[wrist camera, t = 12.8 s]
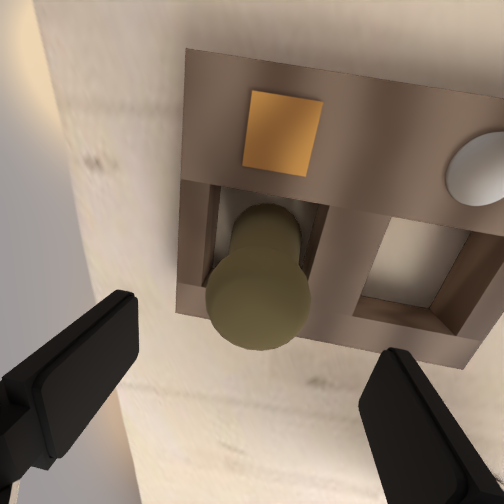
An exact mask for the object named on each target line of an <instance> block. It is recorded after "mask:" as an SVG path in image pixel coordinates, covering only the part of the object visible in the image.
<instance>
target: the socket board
mask: <svg viewBox="0 0 504 504" xmlns="http://www.w3.org/2000/svg"><path fill="white" fill-rule="evenodd" d="M221 186H223V187H229V188H235V189H240V190H246V191H251V192H257V193H263V194H268V195H274V196H279V197H285V198H291V199H296V200H302V201H308V202H313V203H319V206H318V210H317V214H316V217H315V221H314V225H313V228H312V232H311V236H310V240H309V243H308V247H307V251H306V254H305V258H304V262H303V266H302V271H303V272H304V274H305V275H306V277H307V281H308V285H309V289H310V293H311V305H310V312H309V317H308V319H307V321H306V323H305V325H304V326H303V328H302V330H301V331H300V332H299V333H298V334H297V335H296V336H295V337H300V338H305V339H311V340H316V341H321V342H326V343H331V344H336V345H341V346H346V347H351V348H356V349H361V350H366V351H371V352H376V353H382V351H383V350H387V349H388V348H389V347H394V348H399V349H403V350H407V351H409V352H410V353H411V355H412V356H413V358H414V359H415V360H416V361H421V362H426V363H432V364H437V365H442V366H447V367H452V368H457V369H462V370H463V369H464V368H465V366H466V365H467V363H468V362H469V360H470V359H471V358H472V356H473V355H474V353H475V352H476V350H477V349H478V348H479V346H480V345H481V343H482V342H483V340H484V339H485V338H486V336H487V335H488V333H489V332H490V331H491V329H492V328H493V326H494V325H495V323H496V322H497V321H498V319H499V318H500V316H501V315H502V313H503V312H504V99H503V98H496V97H490V96H484V95H478V94H471V93H465V92H459V91H452V90H446V89H440V88H433V87H427V86H421V85H415V84H408V83H402V82H396V81H389V80H383V79H377V78H370V77H364V76H358V75H351V74H345V73H339V72H333V71H326V70H320V69H314V68H307V67H301V66H295V65H288V64H282V63H276V62H270V61H263V60H257V59H251V58H244V57H238V56H232V55H225V54H219V53H213V52H207V51H200V50H194V49H188V48H186V55H185V81H184V107H183V132H182V158H181V184H180V210H179V235H178V261H177V287H176V312H175V313H179V314H184V315H190V316H195V317H200V318H205V319H210V318H209V315H208V313H207V311H206V302H205V292H206V287H207V284H208V281H209V277H210V275H211V273H212V272H213V270H214V269H215V268H212V267H213V258H214V248H215V239H216V229H217V219H218V210H219V200H220V191H221ZM391 217H397V218H403V219H408V220H414V221H420V222H425V223H431V224H437V225H442V226H448V227H453V228H459V229H465V230H470V231H472V232H471V234H470V235H469V237H468V239H467V241H466V243H465V245H464V246H463V248H462V250H461V252H460V254H459V256H458V257H457V259H456V261H455V263H454V265H453V266H452V268H451V270H450V272H449V274H448V276H447V277H446V279H445V281H444V283H443V285H442V287H441V288H440V290H439V292H438V294H437V296H436V298H435V299H434V301H433V303H432V305H431V307H430V308H429V309H426V308H421V307H416V306H411V305H405V304H400V303H395V302H390V301H384V300H379V299H374V298H369V297H363V296H360V295H361V292H362V290H363V287H364V285H365V282H366V280H367V277H368V274H369V272H370V269H371V267H372V264H373V262H374V259H375V257H376V254H377V252H378V249H379V247H380V244H381V242H382V239H383V237H384V234H385V232H386V229H387V227H388V224H389V222H390V219H391Z"/></svg>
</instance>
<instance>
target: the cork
mask: <svg viewBox="0 0 504 504" xmlns="http://www.w3.org/2000/svg"><path fill="white" fill-rule="evenodd" d="M301 238H302V233H301V229H300V225H299V223H298V221H297V220H296V218H295V217H294V215H293V214H292V213H290V212H289V211H288V210H287V209H285V208H284V207H281V206H278V205H276V204H268V203H261V204H258V205H254V206H251V207H249V208H248V209H246V210H245V211H243V212H242V213H241V214H240V216H239V217H238V218H237V220H236V221H235V224H234V227H233V230H232V234H231V240H230V246H229V252H228V256H226V257H225V258H223V259H222V260H221V261H220V263H219V264H218V265H217V266H216V268H215V269H214V270H213V272H212V273H211V275H210V277H209V281H208V284H207V287H206V292H205V302H206V311H207V313H208V315H209V318H210V320H211V322H212V324H213V326H214V328H215V329H216V330H217V331H218V332H219V334H220V335H221V336H222V337H223V338H225V339H226V340H228V341H229V342H231V343H232V344H234V345H236V346H239V347H242V348H245V349H249V350H260V351H262V350H269V349H275V348H277V347H280V346H282V345H284V344H286V343H288V342H289V341H290V340H291V339H293V338H294V337H295V336H296V335H297V334H298V333H299V332H300V331H301V330H302V328H303V326H304V325H305V323H306V321H307V319H308V317H309V312H310V305H311V293H310V289H309V285H308V281H307V277H306V275H305V274H304V272H303V271H302V269H301V268H300V266H299V265H298V264H299V256H300V247H301Z"/></svg>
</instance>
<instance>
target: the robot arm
mask: <svg viewBox="0 0 504 504" xmlns="http://www.w3.org/2000/svg"><path fill="white" fill-rule="evenodd" d="M138 353H139V327H138V299H137V298H136V297H135V296H134V293H132V292H128V291H123V290H115V291H114V292H113V293H111V294H110V295H109V296H107V297H106V298H105V299H103V300H102V301H101V302H99V303H98V304H97V305H96V306H94V307H93V308H92V309H90V310H89V311H88V312H86V313H85V314H84V315H83V316H81V317H80V318H79V319H77V320H76V321H75V322H73V323H72V324H71V325H69V326H68V327H67V328H66V329H64V330H63V331H62V332H60V333H59V334H58V335H56V336H55V337H54V338H52V339H51V340H50V341H48V342H47V343H46V344H45V345H43V346H42V347H41V348H39V349H38V350H37V351H36V352H34V353H33V354H32V355H30V356H29V357H28V358H26V359H25V360H24V361H22V362H21V363H20V364H18V365H17V366H16V367H14V368H13V369H12V370H11V371H9V372H8V373H7V374H5V375H4V376H3V377H2V380H1V381H0V504H16V501H17V495H18V489H19V483H20V478H21V477H22V476H23V475H24V474H25V472H26V471H27V470H28V469H29V468H30V467H31V466H32V467H37V468H40V469H44V470H49V468H50V467H51V466H52V464H53V463H54V462H55V460H56V459H57V458H62V457H63V456H64V455H65V454H66V453H67V452H68V450H69V449H70V448H71V446H72V445H73V444H74V442H75V441H76V440H77V438H78V437H79V436H80V434H81V433H82V432H83V430H84V429H85V428H86V426H87V425H88V424H89V422H90V421H91V419H92V418H93V417H94V415H95V414H96V413H97V411H98V410H99V409H100V407H101V406H102V405H103V403H104V402H105V401H106V399H107V398H108V397H109V395H110V394H111V393H112V391H113V390H114V389H115V387H116V386H117V384H118V383H119V382H120V380H121V379H122V378H123V376H124V375H125V374H126V372H127V371H128V370H129V368H130V367H131V366H132V364H133V363H134V362H135V360H136V358H137V356H138ZM358 407H359V412H360V416H361V419H362V422H363V425H364V429H365V432H366V435H367V438H368V441H369V445H370V448H371V451H372V454H373V458H374V461H375V464H376V467H377V471H378V474H379V477H380V480H381V483H382V487H383V490H384V493H385V496H386V500H387V503H388V504H504V485H503V484H501V483H500V482H498V481H496V479H495V478H494V476H493V475H492V473H491V472H490V470H489V469H488V467H487V466H486V464H485V463H484V461H483V460H482V458H481V457H480V455H479V454H478V452H477V451H476V450H475V448H474V447H473V445H472V444H471V442H470V441H469V439H468V438H467V436H466V435H465V433H464V432H463V430H462V429H461V427H460V426H459V424H458V423H457V421H456V420H455V418H454V417H453V415H452V414H451V412H450V411H449V409H448V408H447V406H446V405H445V404H444V402H443V401H442V399H441V398H440V396H439V395H438V393H437V392H436V390H435V389H434V387H433V386H432V384H431V383H430V381H429V380H428V378H427V377H426V375H425V374H424V372H423V371H422V369H421V368H420V366H419V365H418V363H417V362H416V360H415V359H414V358H413V356H412V355H411V353H410V352H409V351H407V350H403V349H399V348H394V347H389V348H388V349H387V350H383V351H382V353H381V355H380V357H379V359H378V361H377V363H376V365H375V368H374V370H373V372H372V374H371V376H370V378H369V380H368V382H367V384H366V386H365V389H364V391H363V393H362V395H361V397H360V399H359V404H358Z"/></svg>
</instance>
